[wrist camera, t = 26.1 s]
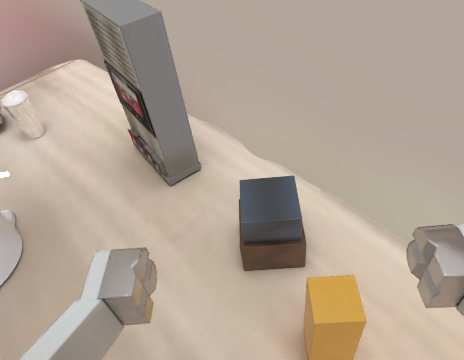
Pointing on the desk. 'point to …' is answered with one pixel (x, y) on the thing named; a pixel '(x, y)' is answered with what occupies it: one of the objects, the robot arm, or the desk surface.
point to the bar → (332, 318)
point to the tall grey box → (145, 82)
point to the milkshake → (23, 113)
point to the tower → (271, 224)
